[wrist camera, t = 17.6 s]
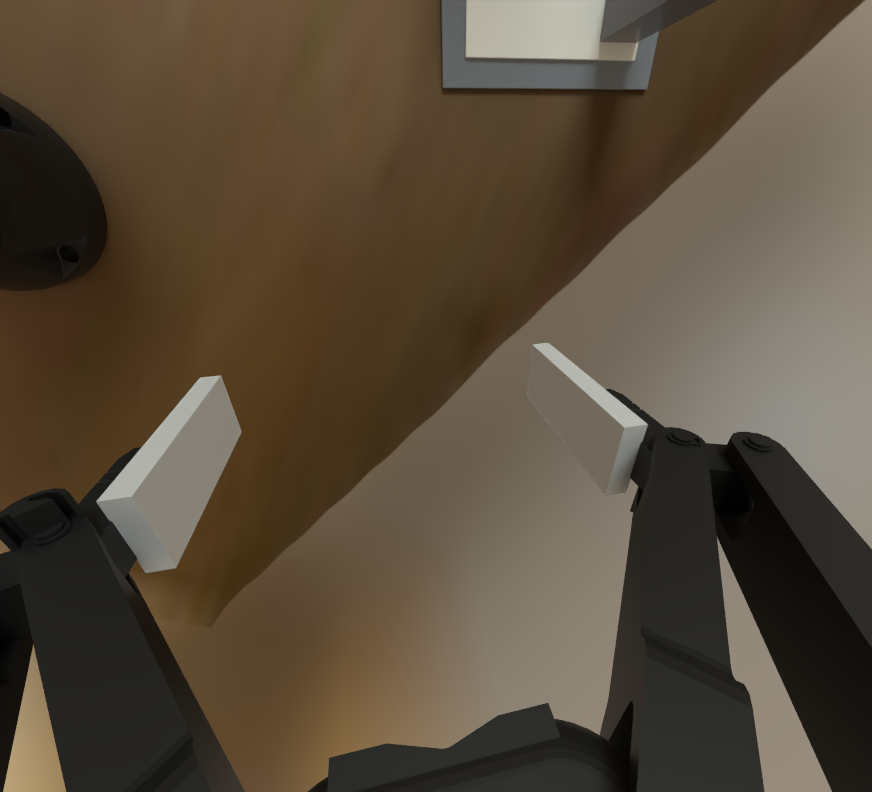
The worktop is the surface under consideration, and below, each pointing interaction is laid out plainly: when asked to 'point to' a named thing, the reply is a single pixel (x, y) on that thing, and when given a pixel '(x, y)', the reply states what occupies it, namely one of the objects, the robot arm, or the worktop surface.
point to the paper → (537, 47)
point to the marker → (643, 17)
